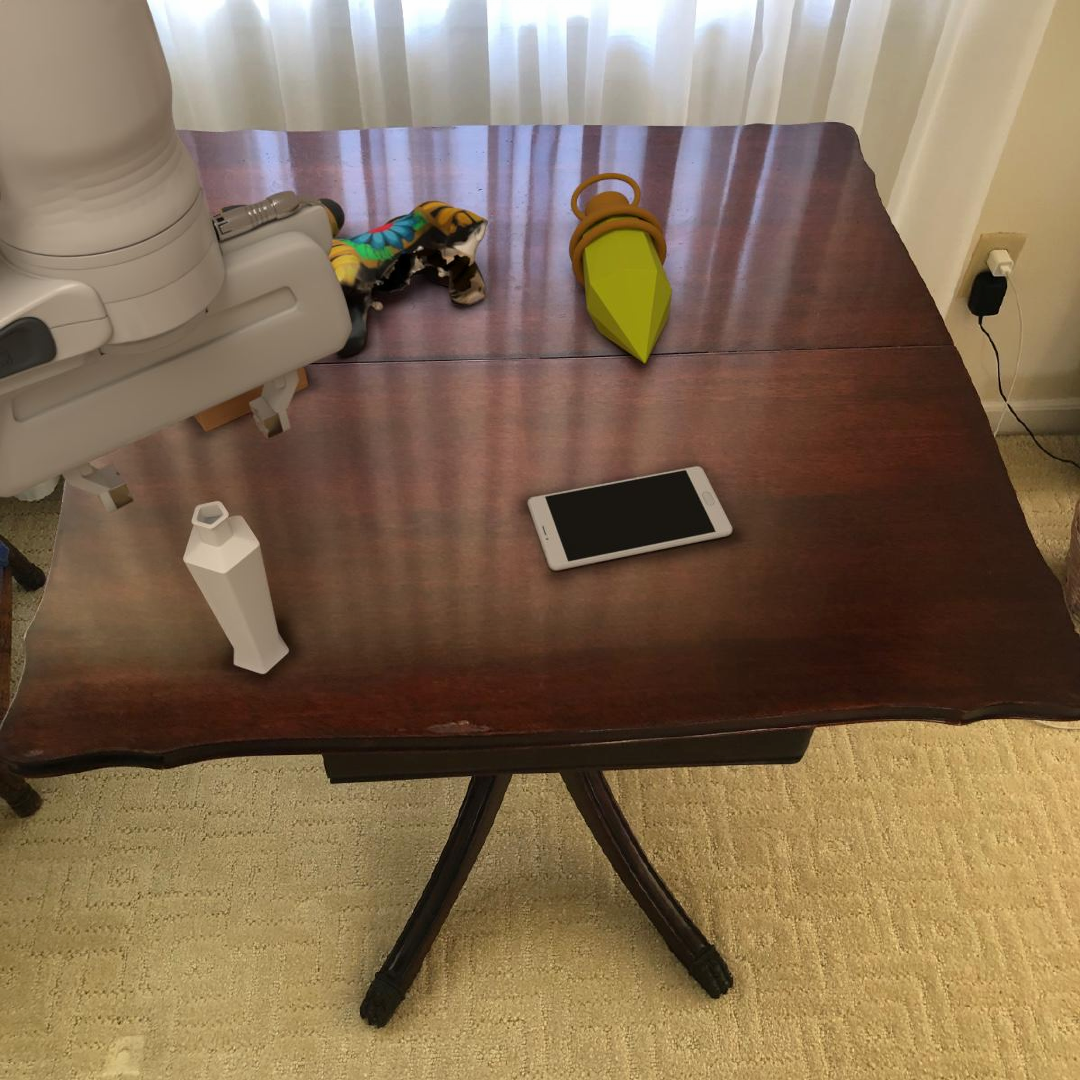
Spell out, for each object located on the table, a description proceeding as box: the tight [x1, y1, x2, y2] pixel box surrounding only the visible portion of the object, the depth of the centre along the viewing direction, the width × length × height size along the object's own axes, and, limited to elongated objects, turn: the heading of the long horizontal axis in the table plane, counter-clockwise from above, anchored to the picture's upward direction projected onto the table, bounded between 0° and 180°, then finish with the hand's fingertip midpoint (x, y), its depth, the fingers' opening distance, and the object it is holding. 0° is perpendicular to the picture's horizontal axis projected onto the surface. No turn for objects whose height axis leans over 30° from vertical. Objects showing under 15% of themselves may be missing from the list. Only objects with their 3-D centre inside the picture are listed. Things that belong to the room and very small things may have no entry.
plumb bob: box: [568, 172, 673, 364], centre depth 93 cm, size 9×9×25 cm
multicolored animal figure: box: [218, 197, 489, 357], centre depth 93 cm, size 20×12×18 cm
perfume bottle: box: [182, 500, 290, 675], centre depth 65 cm, size 5×4×15 cm
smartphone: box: [527, 465, 733, 572], centre depth 78 cm, size 8×1×15 cm
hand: (197, 463), depth 56 cm, fingers open, 8 cm apart
